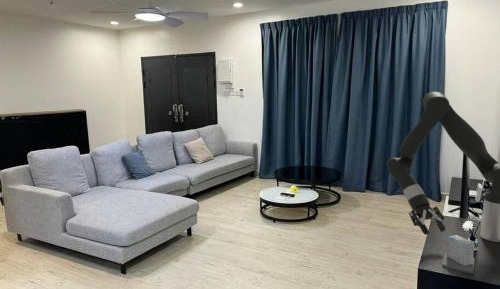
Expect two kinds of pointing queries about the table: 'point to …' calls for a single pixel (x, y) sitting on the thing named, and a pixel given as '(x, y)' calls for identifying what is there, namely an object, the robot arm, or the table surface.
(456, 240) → the medicine box
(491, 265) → the table surface
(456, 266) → the rubber mat
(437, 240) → the table surface
